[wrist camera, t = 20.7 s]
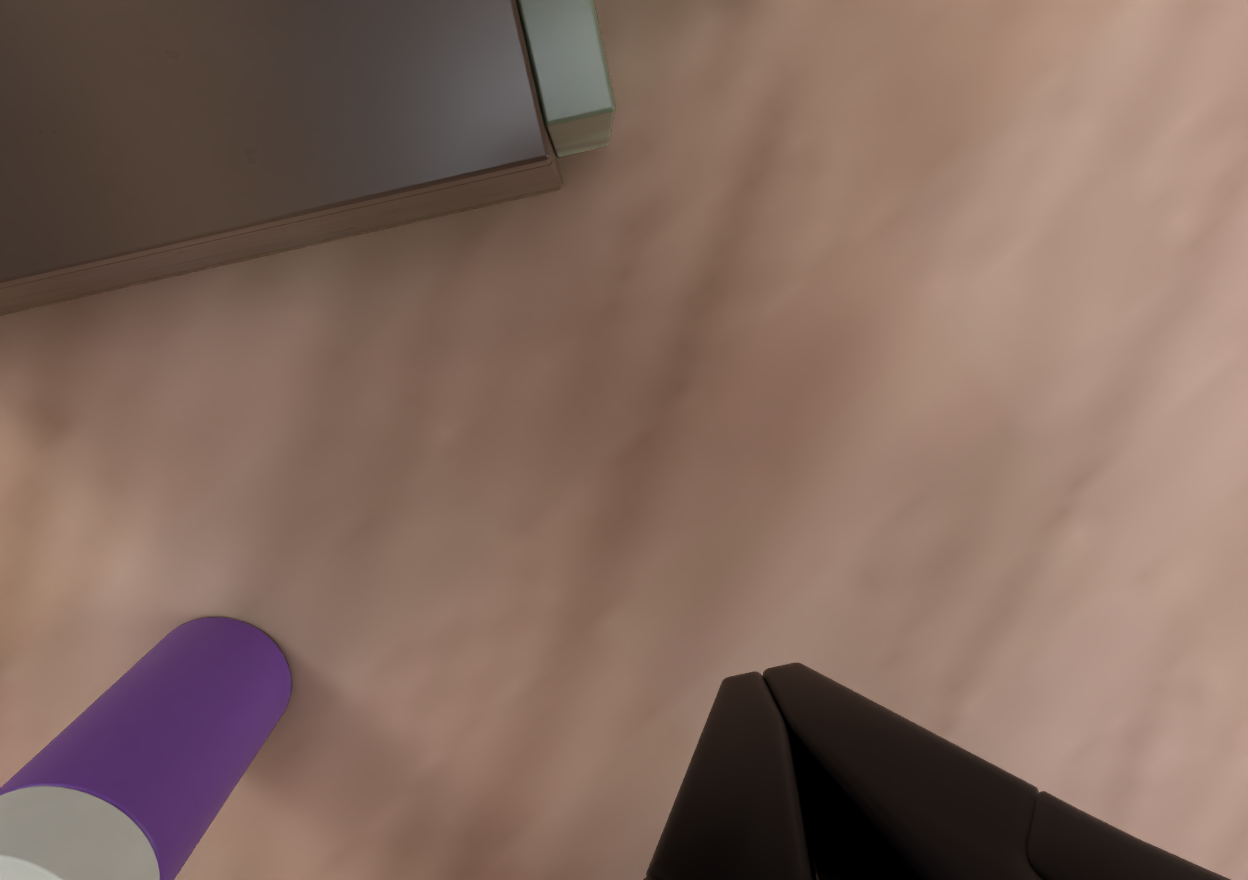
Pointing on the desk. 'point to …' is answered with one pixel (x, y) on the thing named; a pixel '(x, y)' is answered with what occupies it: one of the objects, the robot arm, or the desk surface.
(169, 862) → the glue stick
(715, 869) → the robot arm
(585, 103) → the drawer
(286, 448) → the desk surface
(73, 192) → the cabinet
